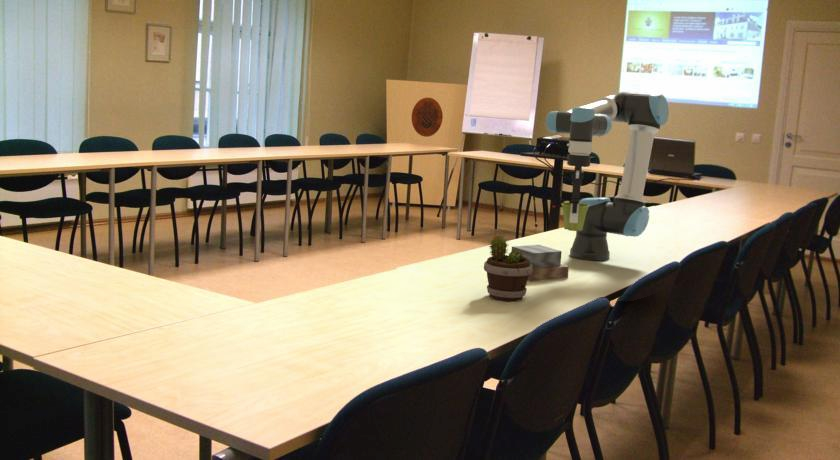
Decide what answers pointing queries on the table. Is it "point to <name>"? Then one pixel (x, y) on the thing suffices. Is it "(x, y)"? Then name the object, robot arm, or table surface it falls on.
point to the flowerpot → (506, 272)
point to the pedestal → (544, 262)
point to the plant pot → (581, 216)
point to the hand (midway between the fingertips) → (573, 220)
